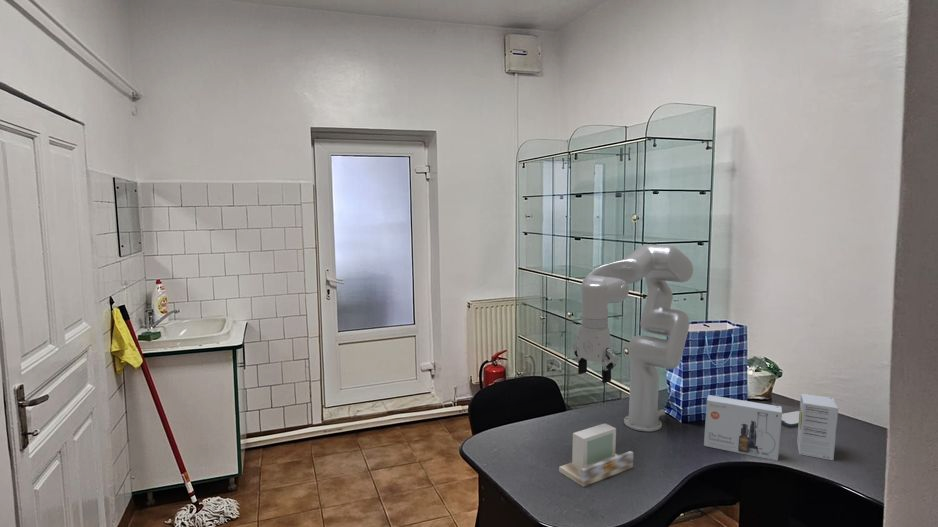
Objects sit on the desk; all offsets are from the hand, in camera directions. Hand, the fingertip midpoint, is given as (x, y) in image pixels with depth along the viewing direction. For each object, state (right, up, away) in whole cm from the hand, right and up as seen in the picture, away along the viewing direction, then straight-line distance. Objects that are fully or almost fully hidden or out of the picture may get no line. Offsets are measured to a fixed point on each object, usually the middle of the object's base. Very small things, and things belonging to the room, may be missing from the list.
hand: (594, 377), depth 168 cm
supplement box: (+71, -25, +6) cm, 75 cm away
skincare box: (+48, -25, +7) cm, 54 cm away
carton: (-1, -24, -4) cm, 25 cm away
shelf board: (-1, -26, -5) cm, 26 cm away
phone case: (+78, -22, +30) cm, 87 cm away
